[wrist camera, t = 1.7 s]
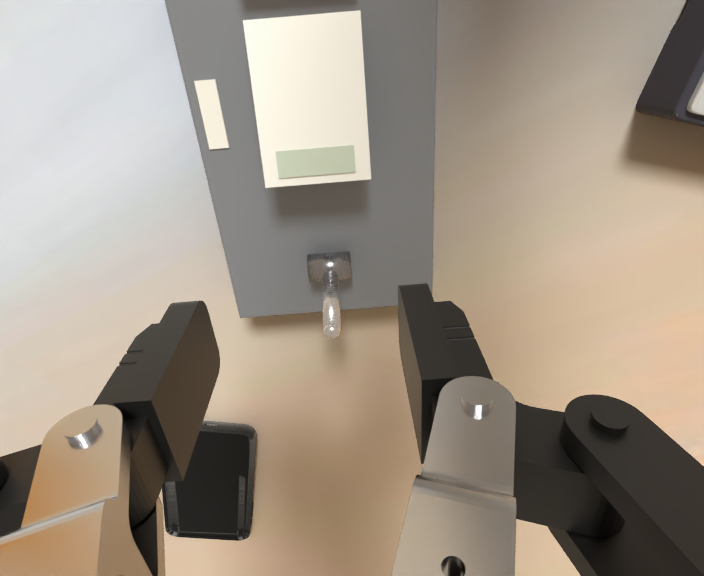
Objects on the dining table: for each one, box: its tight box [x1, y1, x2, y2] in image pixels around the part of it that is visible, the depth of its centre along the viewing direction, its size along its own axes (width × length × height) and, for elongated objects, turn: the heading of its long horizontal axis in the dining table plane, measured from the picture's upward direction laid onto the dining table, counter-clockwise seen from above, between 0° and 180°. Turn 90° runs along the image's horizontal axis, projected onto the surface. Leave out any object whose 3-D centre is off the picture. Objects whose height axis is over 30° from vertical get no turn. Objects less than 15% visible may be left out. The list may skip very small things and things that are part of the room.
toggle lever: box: [307, 251, 352, 339], centre depth 25 cm, size 2×2×6 cm
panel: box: [165, 0, 437, 318], centre depth 24 cm, size 25×12×4 cm, turn 4°
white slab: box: [243, 10, 371, 188], centre depth 21 cm, size 7×5×1 cm
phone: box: [162, 421, 257, 541], centre depth 41 cm, size 8×1×15 cm
